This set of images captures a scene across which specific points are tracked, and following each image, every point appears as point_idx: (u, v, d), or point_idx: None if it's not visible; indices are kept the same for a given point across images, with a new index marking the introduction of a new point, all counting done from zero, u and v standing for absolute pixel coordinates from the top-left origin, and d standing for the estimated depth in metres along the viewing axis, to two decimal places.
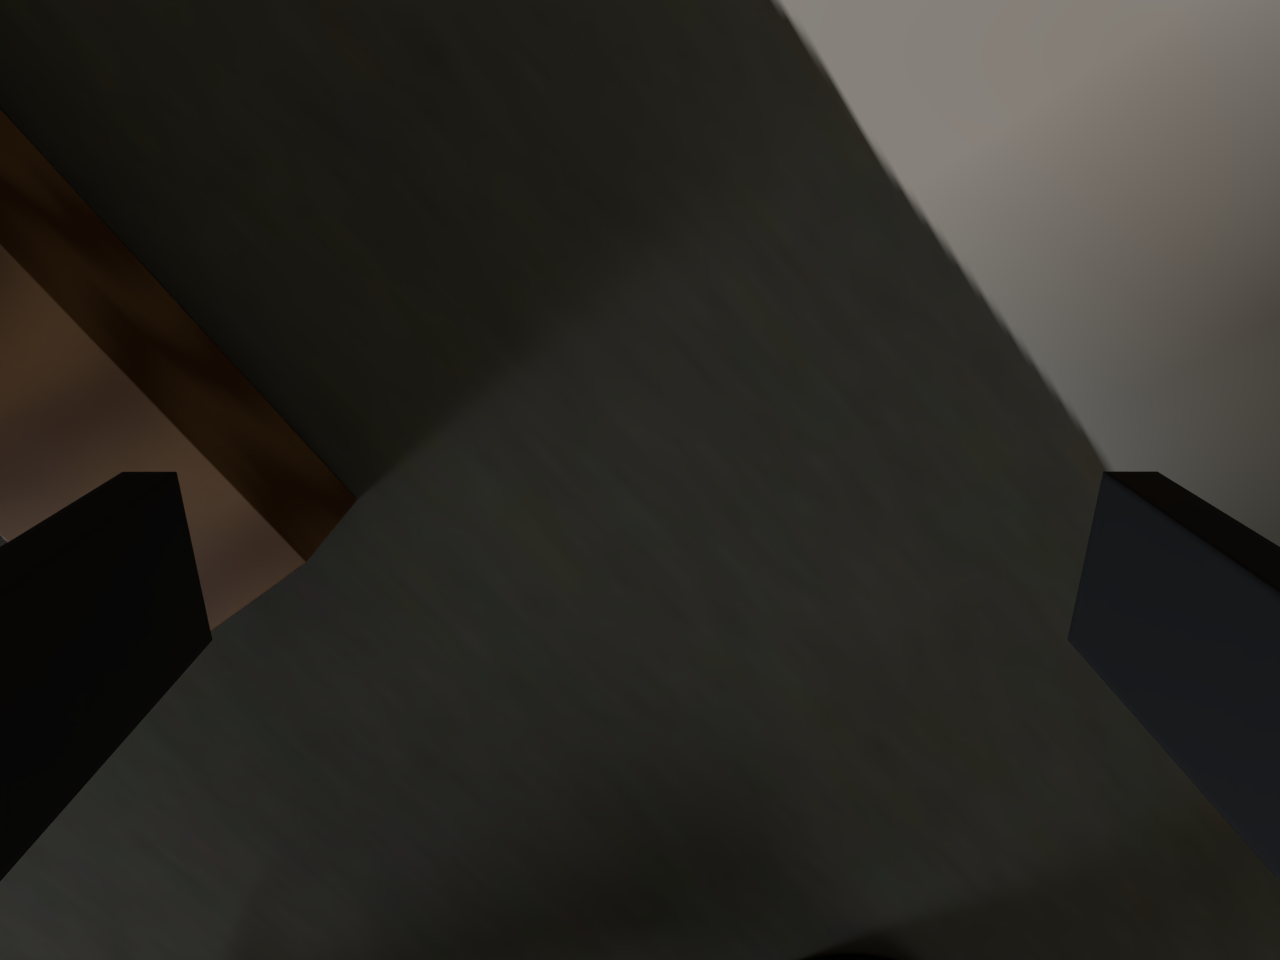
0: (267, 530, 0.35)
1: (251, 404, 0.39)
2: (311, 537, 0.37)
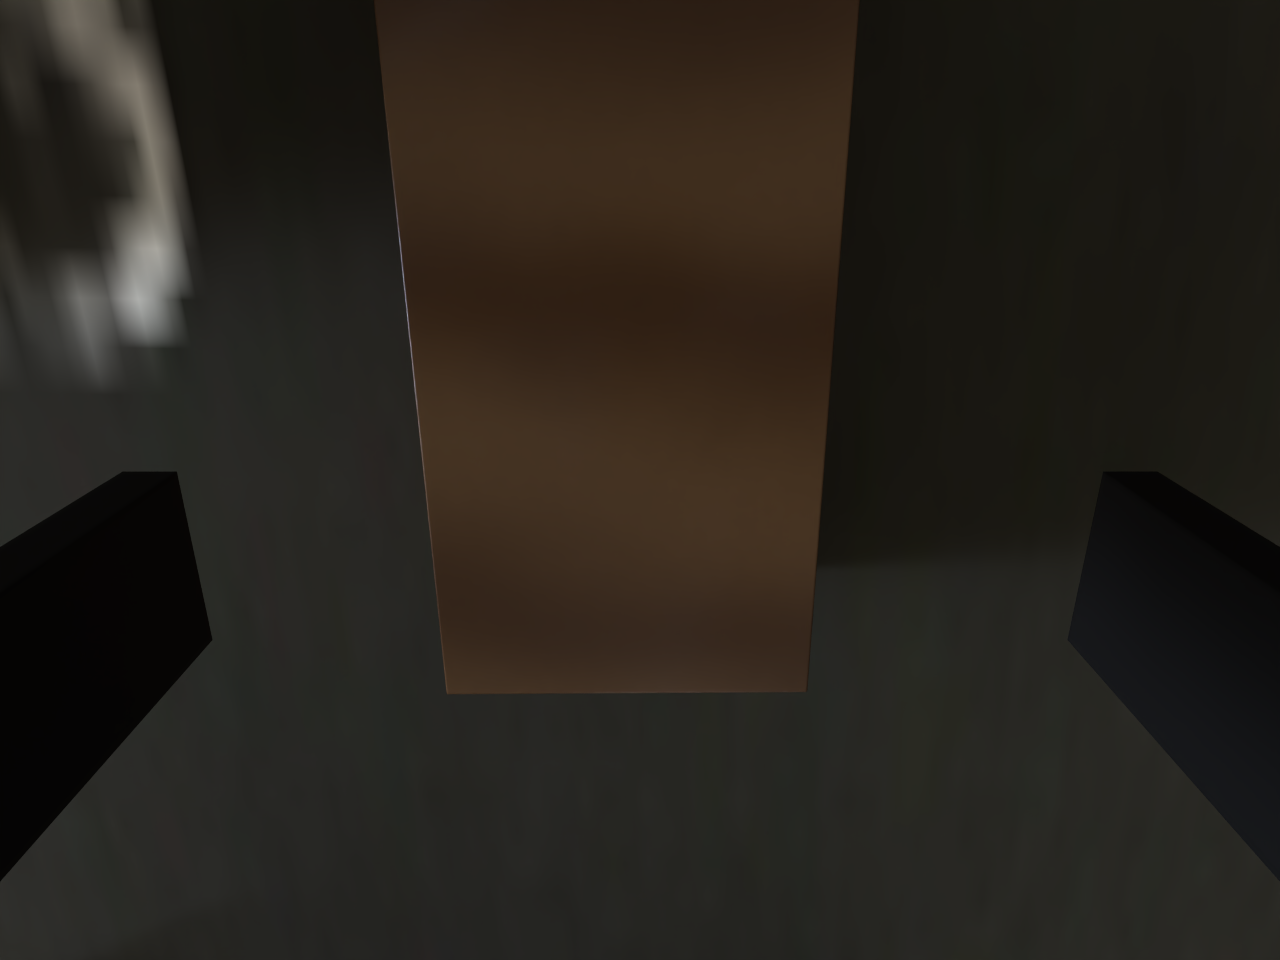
0: (800, 625, 0.21)
1: None
2: None
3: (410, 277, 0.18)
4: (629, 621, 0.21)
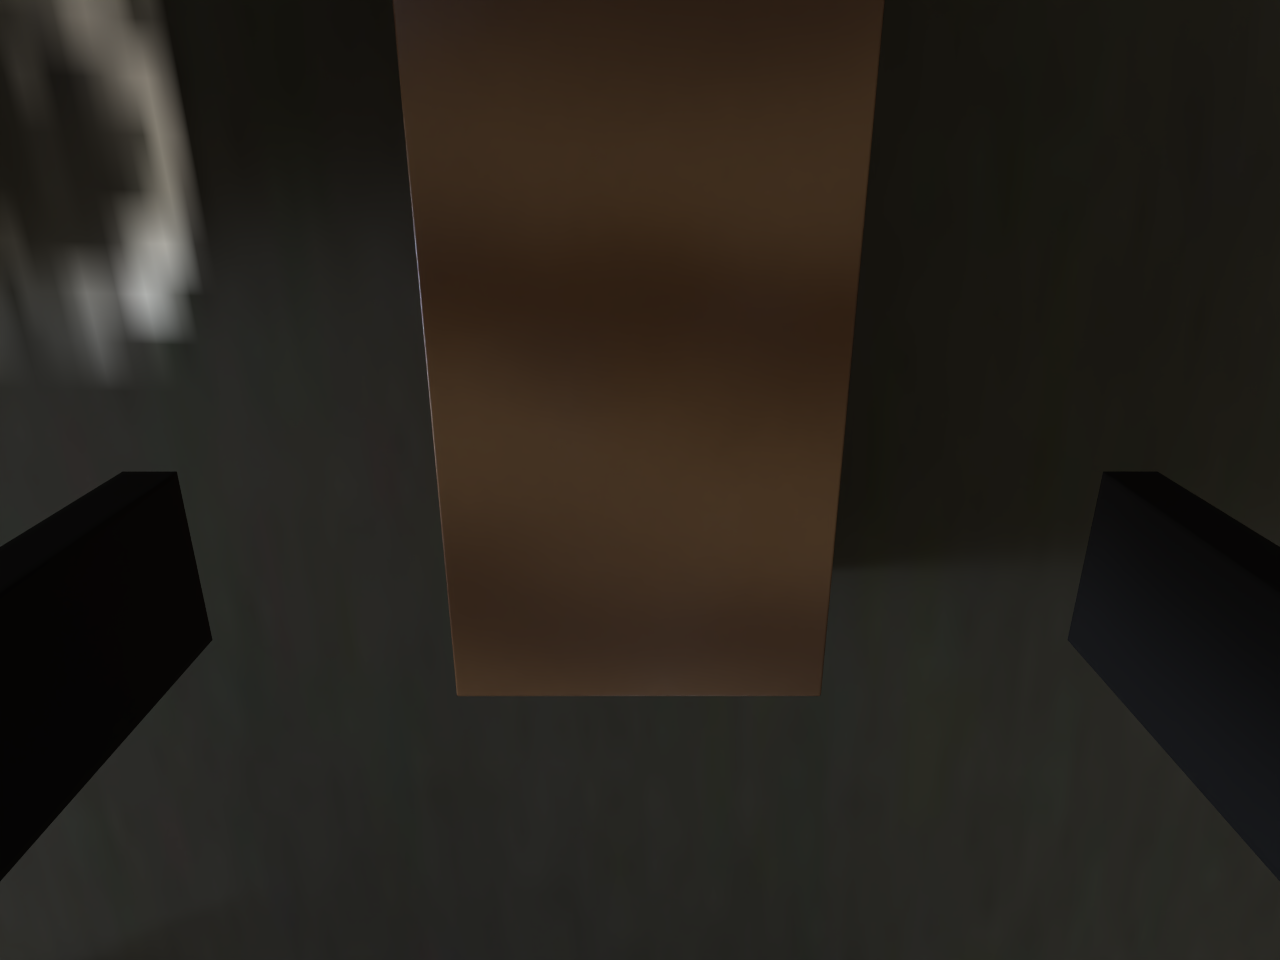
0: (814, 629, 0.21)
1: None
2: None
3: (425, 275, 0.18)
4: (643, 624, 0.21)
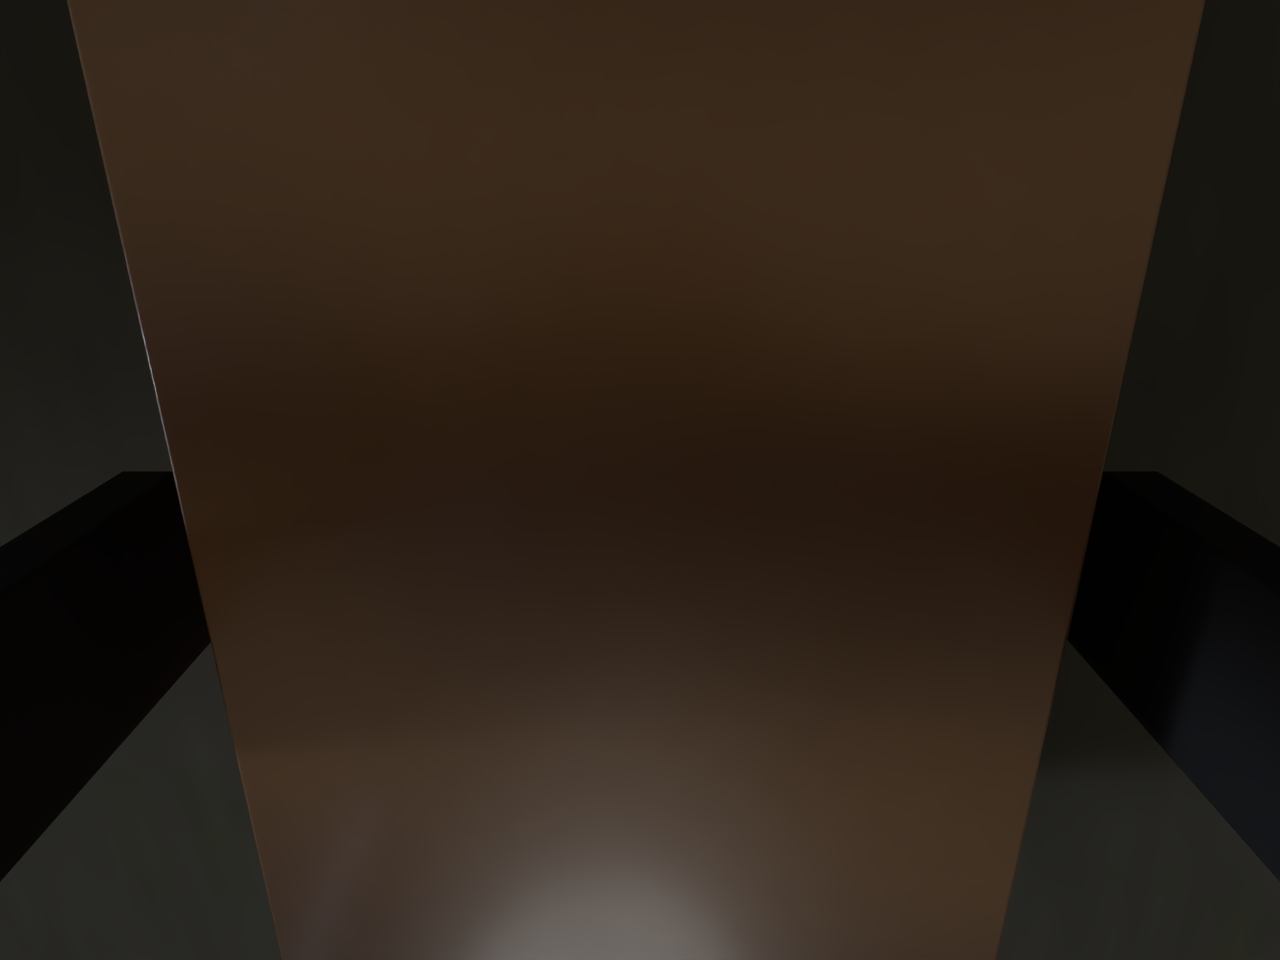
0: None
1: None
2: None
3: (174, 408, 0.08)
4: None
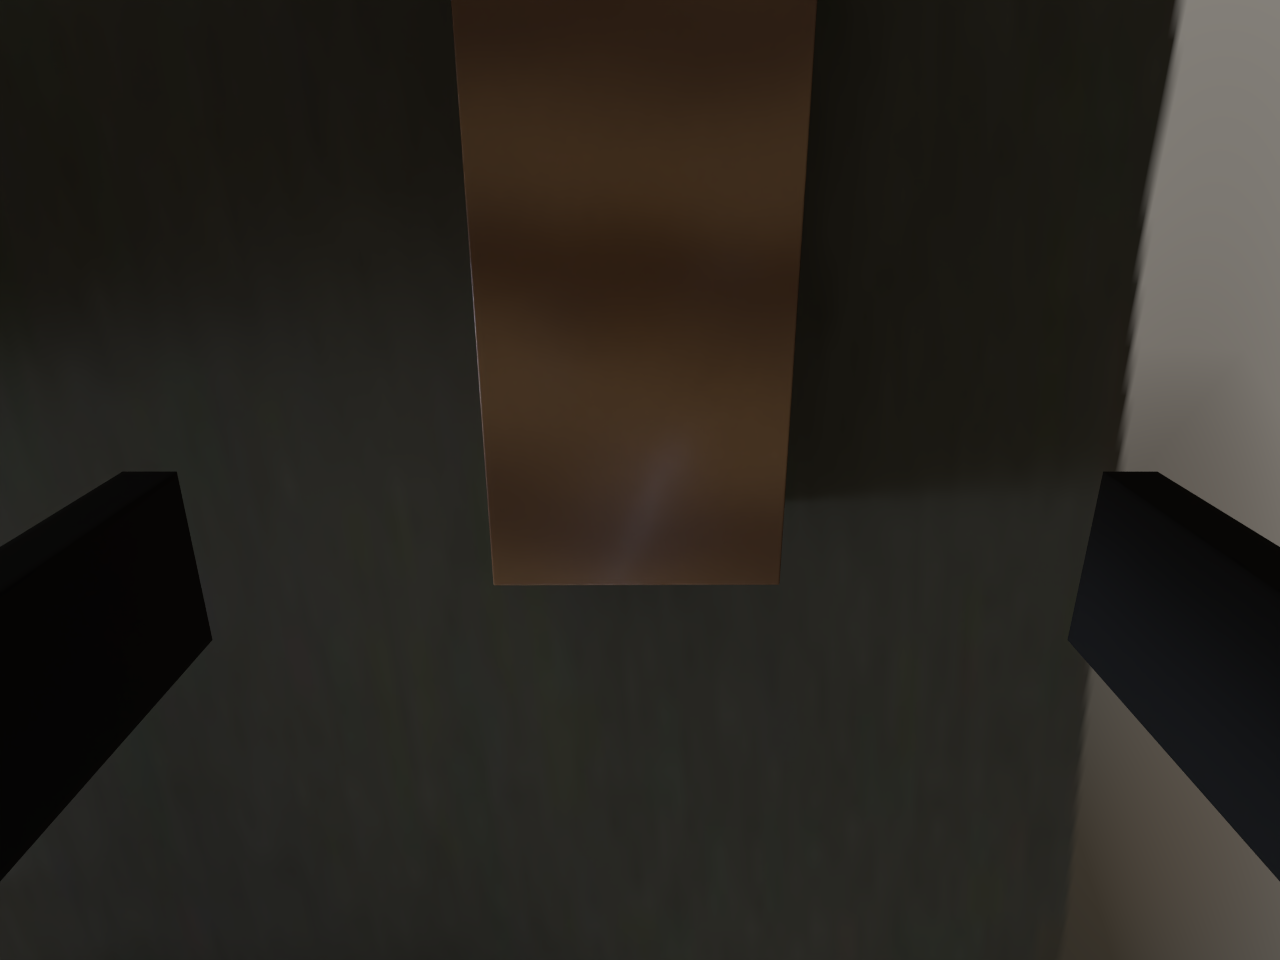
0: (773, 529, 0.27)
1: None
2: None
3: (475, 251, 0.24)
4: (639, 526, 0.27)
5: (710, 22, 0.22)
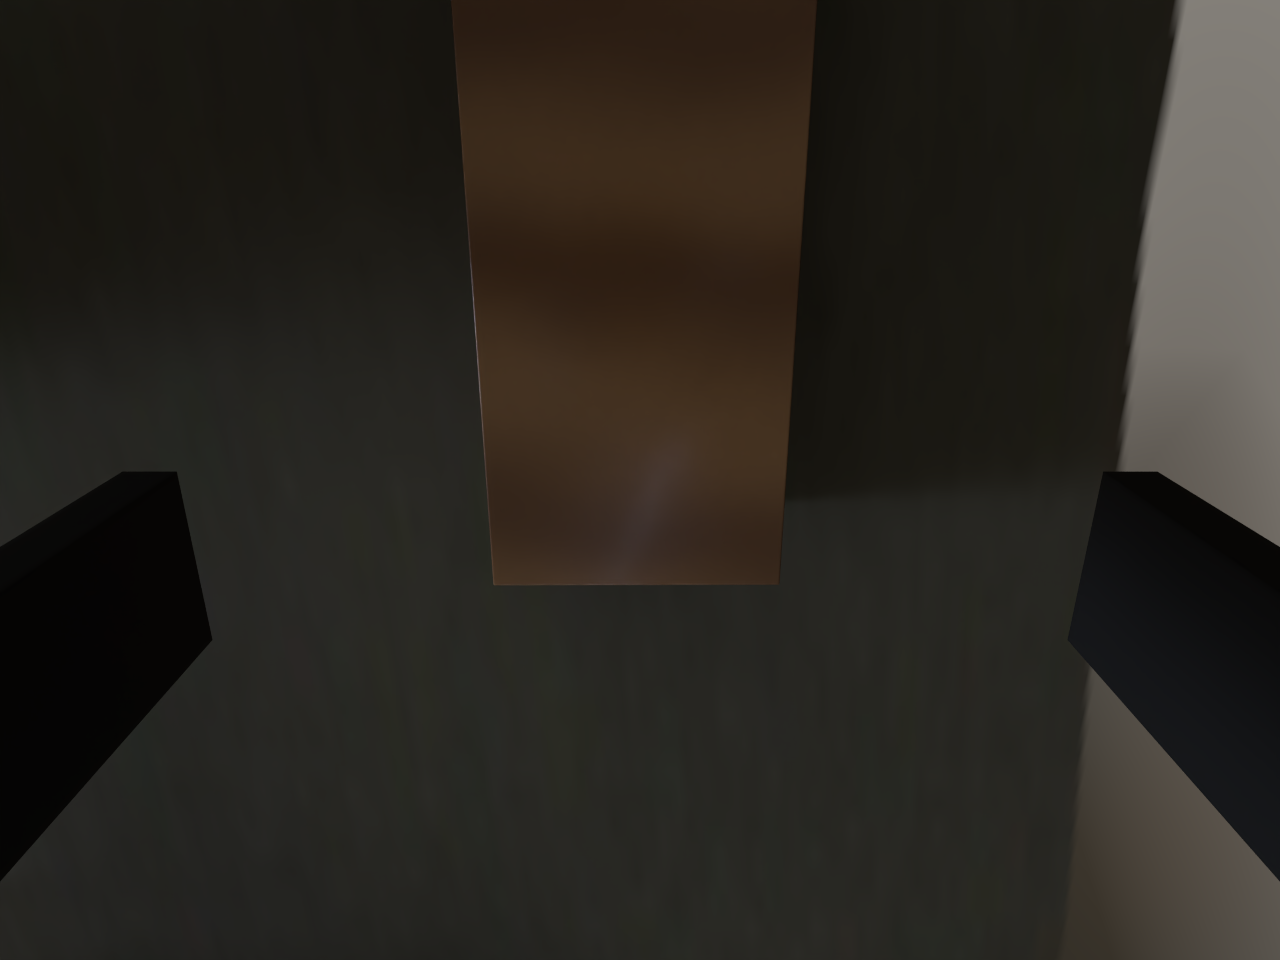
0: (773, 529, 0.27)
1: None
2: None
3: (475, 251, 0.24)
4: (639, 526, 0.27)
5: (710, 22, 0.22)
